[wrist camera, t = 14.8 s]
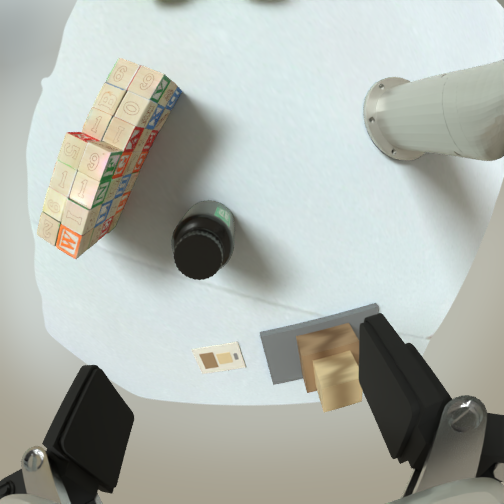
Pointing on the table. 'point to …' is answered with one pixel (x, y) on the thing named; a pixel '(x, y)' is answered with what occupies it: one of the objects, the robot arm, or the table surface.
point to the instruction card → (219, 357)
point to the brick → (325, 349)
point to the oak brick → (337, 381)
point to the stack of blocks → (105, 157)
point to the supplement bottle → (203, 240)
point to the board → (284, 339)
